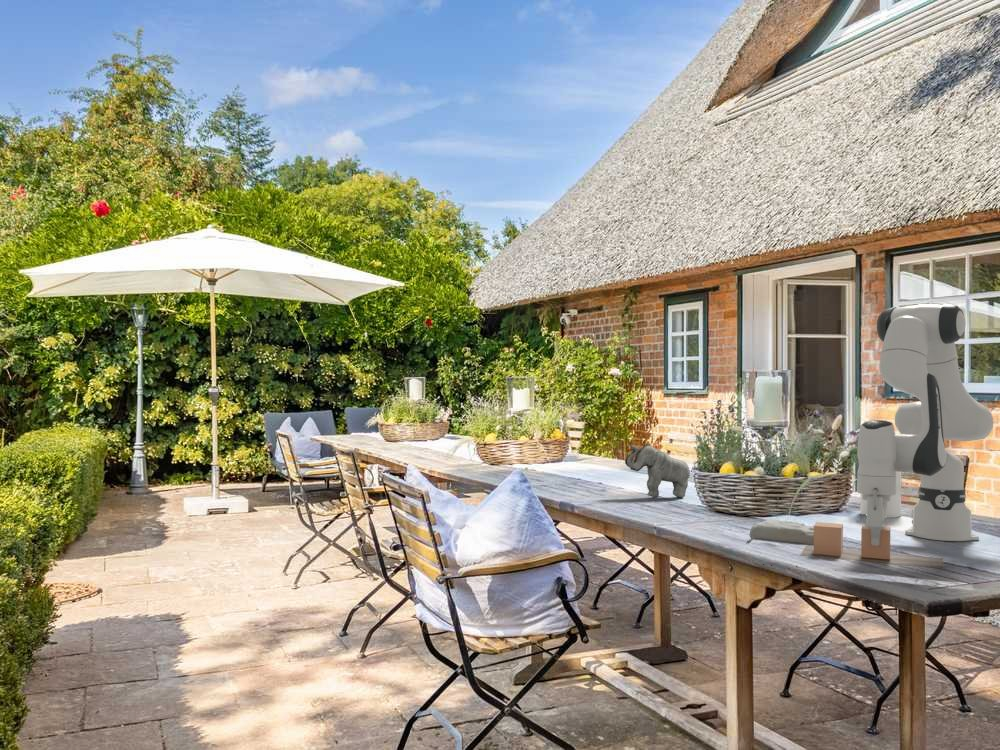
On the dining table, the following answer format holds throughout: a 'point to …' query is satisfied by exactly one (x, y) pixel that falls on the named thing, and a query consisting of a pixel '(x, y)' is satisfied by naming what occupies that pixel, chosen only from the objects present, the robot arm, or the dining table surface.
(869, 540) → the wooden block
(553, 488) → the dining table surface
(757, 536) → the stone
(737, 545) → the dining table surface
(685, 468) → the grey animal figurine
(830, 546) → the peach block
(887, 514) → the cylinder
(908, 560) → the board
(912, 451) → the robot arm
